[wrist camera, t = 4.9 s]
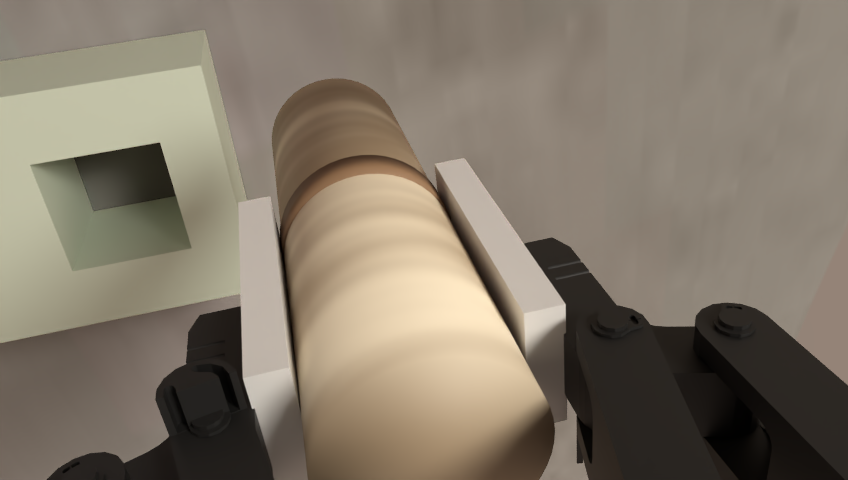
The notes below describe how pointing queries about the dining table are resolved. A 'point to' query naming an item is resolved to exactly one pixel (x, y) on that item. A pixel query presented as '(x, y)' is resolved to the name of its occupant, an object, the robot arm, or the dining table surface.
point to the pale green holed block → (125, 225)
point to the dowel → (392, 309)
